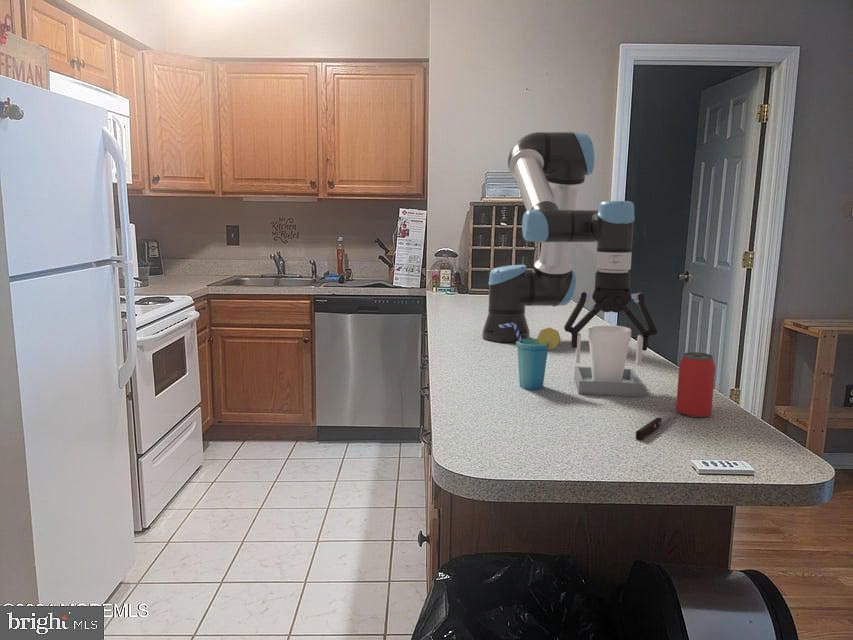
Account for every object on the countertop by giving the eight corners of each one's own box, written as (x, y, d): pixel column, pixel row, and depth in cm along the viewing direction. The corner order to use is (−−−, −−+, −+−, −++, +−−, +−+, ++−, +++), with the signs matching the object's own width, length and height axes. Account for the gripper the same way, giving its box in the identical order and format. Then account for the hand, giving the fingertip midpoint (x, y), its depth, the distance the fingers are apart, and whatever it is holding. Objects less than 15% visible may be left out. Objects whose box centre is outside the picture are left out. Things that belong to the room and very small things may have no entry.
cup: (498, 390, 139) (499, 325, 136) (496, 381, 147) (497, 319, 144) (560, 392, 138) (563, 326, 136) (555, 382, 146) (558, 320, 143)
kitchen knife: (640, 442, 108) (641, 432, 108) (634, 441, 109) (635, 430, 109) (675, 417, 122) (675, 407, 122) (670, 416, 123) (670, 406, 122)
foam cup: (629, 390, 137) (633, 333, 134) (587, 388, 138) (590, 331, 136) (624, 379, 146) (628, 325, 144) (584, 377, 148) (587, 324, 145)
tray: (574, 378, 150) (574, 366, 149) (632, 380, 148) (632, 368, 147) (578, 393, 137) (579, 380, 136) (642, 397, 135) (643, 383, 134)
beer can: (709, 410, 126) (714, 353, 124) (712, 420, 120) (718, 360, 118) (674, 406, 128) (679, 350, 126) (676, 416, 122) (681, 357, 120)
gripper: (557, 271, 136) (553, 364, 140) (675, 273, 132) (668, 369, 136) (555, 268, 143) (551, 357, 147) (667, 270, 139) (661, 361, 143)
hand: (607, 363), depth 141 cm, fingers open, 13 cm apart
